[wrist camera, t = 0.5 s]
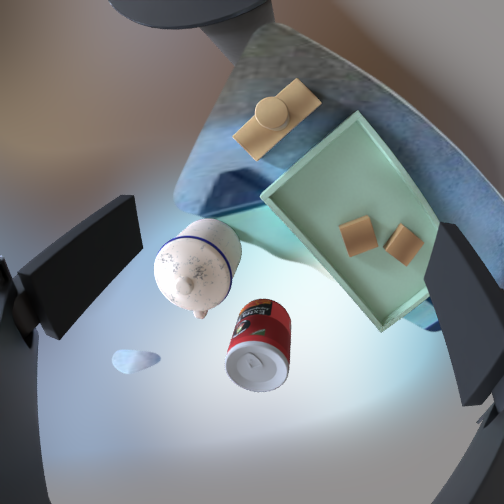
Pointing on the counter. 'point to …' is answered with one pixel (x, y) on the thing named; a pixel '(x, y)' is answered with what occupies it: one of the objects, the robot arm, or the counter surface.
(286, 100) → the brush
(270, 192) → the tray
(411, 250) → the cork piece
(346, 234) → the cork piece
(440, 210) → the counter surface
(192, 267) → the teacup with lid
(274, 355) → the canned food
